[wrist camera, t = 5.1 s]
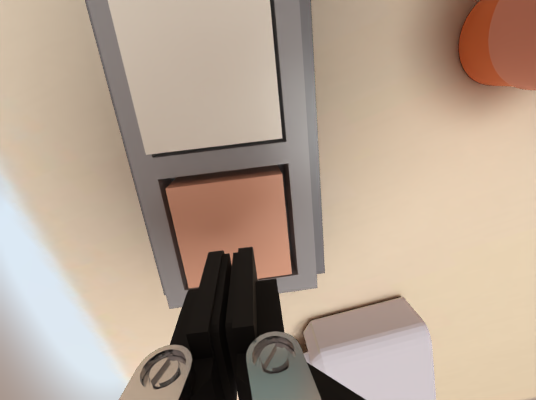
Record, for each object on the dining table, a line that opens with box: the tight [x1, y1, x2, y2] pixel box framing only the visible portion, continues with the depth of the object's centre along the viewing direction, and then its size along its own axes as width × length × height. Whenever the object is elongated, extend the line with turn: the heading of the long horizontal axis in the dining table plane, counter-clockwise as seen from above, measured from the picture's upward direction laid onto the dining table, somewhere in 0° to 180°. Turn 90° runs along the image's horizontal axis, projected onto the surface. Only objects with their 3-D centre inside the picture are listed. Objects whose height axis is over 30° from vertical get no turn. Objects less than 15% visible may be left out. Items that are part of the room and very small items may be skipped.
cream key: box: [108, 0, 282, 155], centre depth 14 cm, size 6×6×3 cm
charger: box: [303, 297, 436, 400], centre depth 26 cm, size 5×9×15 cm
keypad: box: [85, 0, 325, 309], centre depth 17 cm, size 28×12×6 cm, turn 6°
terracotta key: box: [165, 165, 292, 288], centre depth 18 cm, size 6×6×3 cm
